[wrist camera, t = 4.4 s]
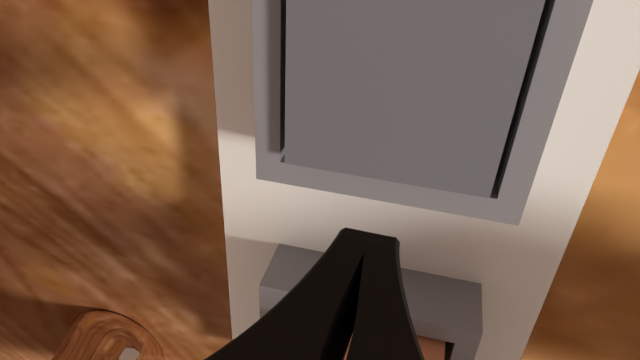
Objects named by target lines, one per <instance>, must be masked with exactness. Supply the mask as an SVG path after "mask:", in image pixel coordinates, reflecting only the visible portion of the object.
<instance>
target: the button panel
mask: <svg viewBox="0 0 640 360" xmlns="http://www.w3.org/2000/svg"><path fill="white" fill-rule="evenodd" d="M208 6H209V20H210V34H211V48H212V62H213V76H214V90H215V104H216V118H217V132H218V146H219V160H220V174H221V188H222V202H223V216H224V229H225V243H226V257H227V271H228V285H229V299H230V313H231V327H232V340H233V339H235V338H236V337H237V336H239V335H240V334H241V333H243V332H244V331H245V330H247V329H248V328H249V327H250V326H252V325H253V324H254V323H255V322H257V321H258V320H259V319H260V318H261V317H263V316H264V315H265V314H266V313H267V312H268V311H269V310H271V309H272V308H273V307H274V306H275V305H276V304H277V303H278V302H279V301H280V300H281V299H282V298H283V297H284V296H285V295H286V294H287V293H288V292H289V291H290V290H291V289H292V288H294V287H295V286H296V285H297V283H298V282H299V281H300V280H301V279H302V278H303V277H304V276H305V275H306V274H307V273H308V271H309V270H310V269H311V268H312V267H313V266H314V265H315V264H316V262H317V261H318V260H319V259H320V258H321V256H322V255H323V254H324V253H325V251H326V250H327V249H328V248H329V246H330V245H331V243H332V242H333V241H334V239H335V238H336V236H337V235H338V233H339V231H340V230H342V229H343V228H345V227H346V228H351V229H356V230H361V231H366V232H371V233H376V234H381V235H386V236H391V237H396V238H397V239H398V241H399V242H400V248H399V255H400V267H401V274H402V281H403V286H404V291H405V295H406V299H407V304H408V308H409V312H410V316H411V319H412V323H413V326H414V329H415V333H416V335H419V336H424V337H428V338H433V339H437V340H442V341H445V358H444V360H520V359H521V357H522V355H523V352H524V350H525V347H526V345H527V342H528V340H529V337H530V335H531V333H532V330H533V328H534V325H535V323H536V320H537V318H538V316H539V313H540V311H541V308H542V306H543V303H544V301H545V298H546V296H547V294H548V291H549V289H550V286H551V284H552V281H553V279H554V277H555V274H556V272H557V269H558V267H559V264H560V262H561V259H562V257H563V255H564V252H565V250H566V247H567V245H568V242H569V240H570V238H571V235H572V233H573V230H574V228H575V225H576V223H577V220H578V218H579V216H580V213H581V211H582V208H583V206H584V203H585V201H586V199H587V196H588V194H589V191H590V189H591V186H592V184H593V182H594V179H595V177H596V174H597V172H598V169H599V167H600V164H601V162H602V160H603V157H604V155H605V152H606V150H607V147H608V145H609V143H610V140H611V138H612V135H613V133H614V130H615V128H616V125H617V123H618V121H619V118H620V116H621V113H622V111H623V108H624V106H625V104H626V101H627V99H628V96H629V94H630V91H631V89H632V86H633V84H634V82H635V79H636V77H637V74H638V72H639V69H640V0H545V4H544V7H543V11H542V14H541V18H540V21H539V25H538V29H537V32H536V36H535V39H534V43H533V46H532V50H531V53H530V57H529V60H528V64H527V68H526V71H525V75H524V78H523V82H522V85H521V89H520V92H519V96H518V99H517V103H516V107H515V110H514V114H513V117H512V121H511V124H510V128H509V131H508V135H507V138H506V142H505V146H504V149H503V153H502V156H501V160H500V163H499V167H498V170H497V174H496V177H495V181H494V185H493V188H492V192H491V195H490V198H484V197H478V196H472V195H466V194H460V193H455V192H449V191H443V190H437V189H431V188H425V187H420V186H414V185H408V184H402V183H396V182H390V181H384V180H379V179H373V178H367V177H361V176H355V175H349V174H343V173H338V172H332V171H326V170H320V169H314V168H308V167H303V166H297V165H291V164H285V70H286V0H208Z"/></svg>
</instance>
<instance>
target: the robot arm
mask: <svg viewBox="0 0 640 360" xmlns="http://www.w3.org/2000/svg"><path fill="white" fill-rule="evenodd" d="M399 248H400V242H399V241H398V239H397V238H396V237H391V236H386V235H381V234H376V233H371V232H366V231H361V230H356V229H351V228H346V227H345V228H343V229H342V230H340V231H339V233H338V235H337V236H336V238H335V239H334V241H333V242H332V243H331V245H330V246H329V248H328V249H327V250H326V251H325V253H324V254H323V255H322V256H321V258H320V259H319V260H318V261H317V262H316V264H315V265H314V266H313V267H312V268H311V269H310V270H309V271H308V273H307V274H306V275H305V276H304V277H303V278H302V279H301V280H300V281H299V282H298V283H297V285H296V286H295V287H294V288H292V289H291V290H290V291H289V292H288V293H287V294H286V295H285V296H284V297H283V298H282V299H281V300H280V301H279V302H278V303H277V304H276V305H275V306H274V307H273V308H272V309H271V310H269V311H268V312H267V313H266V314H265V315H264V316H263V317H261V318H260V319H259V320H258V321H257V322H255V323H254V324H253V325H252V326H250V327H249V328H248V329H247V330H245V331H244V332H243V333H241V334H240V335H239V336H237V337H236V338H235V339H233V340H232V341H231V342H229V343H228V344H227V345H225V346H224V347H222V348H221V349H220V350H218V351H217V352H215V353H214V354H212V355H211V356H209V357H208V358H206V359H205V360H344V357H345V354H346V351H347V348H348V345H349V342H350V339H351V336H352V339H351V343H350V346H349V350H348V354H347V358H346V360H425V359H424V356H423V354H422V351H421V348H420V345H419V342H418V339H417V336H416V333H415V329H414V326H413V323H412V319H411V316H410V312H409V308H408V304H407V299H406V295H405V291H404V286H403V281H402V274H401V267H400V255H399ZM352 333H353V335H352Z"/></svg>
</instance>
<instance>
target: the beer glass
mask: <svg viewBox="0 0 640 360" xmlns="http://www.w3.org/2000/svg"><path fill="white" fill-rule="evenodd" d="M51 360H164V357H163V353H162V350H161V348H160V346H159V344H158V343H157V342H156V340H155V339H154V338H153V337H152V336H151V334H150V333H148V332H147V331H146V330H145V329H144V328H143V327H141V326H140V325H138V324H137V323H135V322H134V321H132V320H130V319H128V318H126V317H124V316H122V315H119V314H116V313H112V312H108V311H99V310H96V311H88V312H85V313H83V314H81V315H80V316H78V317H77V318H76V319H75V321H74V322H73V324H72V325H71V327H70V328H69V330H68V332H67V334H66V336H65V337H64V339H63V341H62V343H61V345H60V347H59V348H58V350H57V352H56V353H55V355H54V356H53V358H52V359H51Z"/></svg>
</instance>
